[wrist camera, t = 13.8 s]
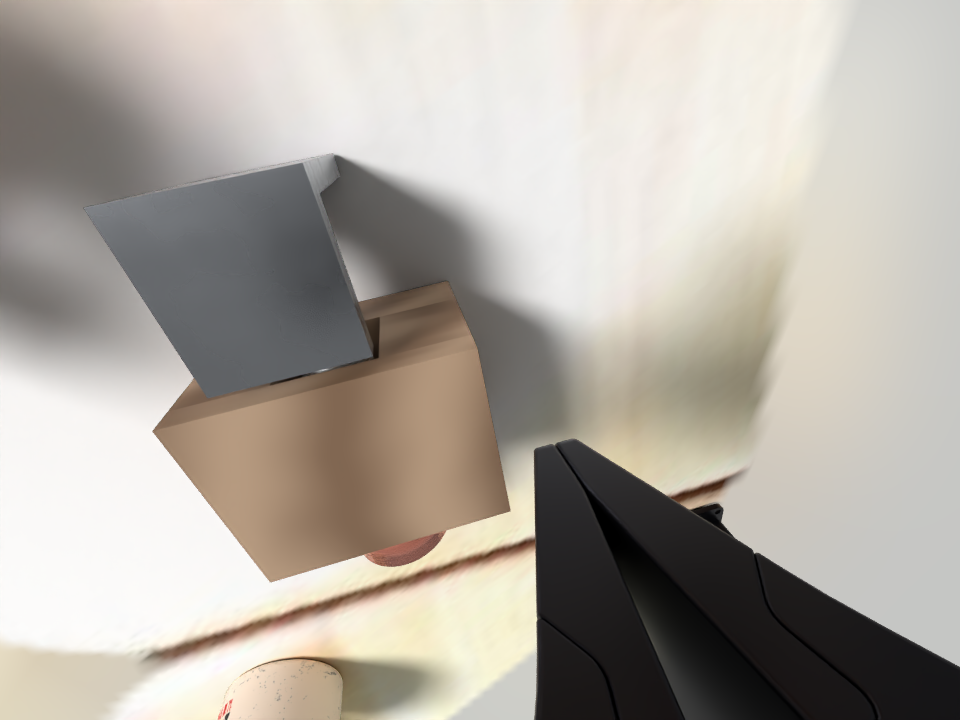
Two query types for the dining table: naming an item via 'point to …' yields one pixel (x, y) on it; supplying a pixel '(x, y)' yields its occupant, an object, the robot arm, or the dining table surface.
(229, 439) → the hitch block
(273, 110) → the dining table surface
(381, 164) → the dining table surface
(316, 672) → the teacup with lid
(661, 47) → the dining table surface
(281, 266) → the bracket
